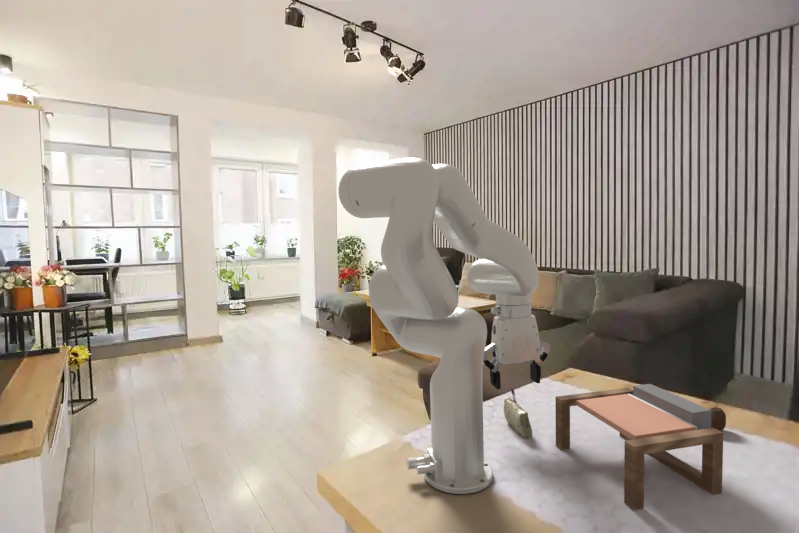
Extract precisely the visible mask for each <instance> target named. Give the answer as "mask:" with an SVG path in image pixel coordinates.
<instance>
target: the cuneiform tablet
mask: <svg viewBox="0 0 799 533" xmlns="http://www.w3.org/2000/svg"><path fill="white" fill-rule="evenodd" d="M510 391H511V397H512V398H510V397H507V398H506V399H504V402H503V413H504V419H505V420H506V421H507V423H508V424H509V425H510V426H511V427H512V428H513V427H514V428H513V429H514V430H515V431H516V432H517V431H518V432H517V433H518V434H520V436H522V437H523V438H524V439H530V438H532V437H533V430H532V425H531V422H530V419H529V413H528V411H526V410H525V409H524V408H522V406H520V405H519V403H517V399H516V398H517V397H516V394H515V389H514V388H512V387H510Z"/></svg>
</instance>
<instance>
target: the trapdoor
mask: <svg viewBox="0 0 799 533" xmlns="http://www.w3.org/2000/svg"><path fill="white" fill-rule="evenodd" d="M632 388H633V389H632V390H633V395H631V394H623V395H615V396H608V397H600V398H592V399H584V400H576V406H577V407H578V408H581V410H583V411H585V412H586V413H587V414H589V415H591V416H593V417H594V418H596V419H597V420H599V421H601V422H602V423H604V424H606V425H608V426H609V427H610V428H612V429H614V430H615V431H617V432H618V433H619V434H620V433H622V434H623V435H625V436H627V437H628V438H630V439H631V440H634V439H640V438H647V437H654V436H660V435H667V434H673V433H680V432H686V431H693V430H699V429H706V428H711V410H710V409H711V408H707V407H705V406H703V405H700V404H698V403H695V402H694V401H692V400H689V399H687V398H684V397H682V396H680V395H676V394H675V393H672V392H670V391H668V390H666V389H663V388H661V387H659V386H656V385H653V384H651V383H645V384H636V385H633V386H632Z"/></svg>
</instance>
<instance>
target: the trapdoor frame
mask: <svg viewBox="0 0 799 533" xmlns="http://www.w3.org/2000/svg"><path fill="white" fill-rule="evenodd" d="M623 394H631V395H633V389H632V388H629V387H622V388H616V389H615V388H614V389H607V390H599V391H591V392H582V393H574V394H566V395H559V396H558V395H557V396H555V447H556V448H558V449H559V450H560V451H567V450H571V407H575V406H577V405H576V400H584V399H592V398H600V397H608V396H615V395H623ZM621 437H622V438H621ZM619 438H621V439H623V440H624V455H623V456H624V457H623V458H624V459H623V460H624V464H623V466H624V470H623V471H624V472H623V473H624V474H623V475H624V476H623V478H624V479H623V482H624V485H623V490H624V491H623V494H624V495H623V503H624V504H625V505H626V506H627V507H628V508H629V509H631V510H632V511H637V510H642V509H644V508H645V455H648V456H650V457H652V458H653V459H655V461H658V462H659V463H661V464H662V465H664V466H665V467H667V468H668V469H670V470H671V471H673V472H675V473H677V474H678V475H679V476H681V477H683V478H684V479H686V480H688V482H691V483H692V482H693V483H692V484H694V485H695V486H696V487H698V488H700V489H702V490H704V491H705V492H706V491H707V493H708V492H709V493H710V494H709V493H708V494H709V495H711V494H712V495H711V496H714V495H713V494H715V495H719V494H720V493H721V494H723V470H724V469H723V463H724V459H723V458H724V431H722V432H721V431H719V430H717V429H715V428H713V427H712V428H706V429H699V430H693V431H686V432H680V433H673V434H667V435H660V436H654V437H647V438H640V439H634V440H631V439H630V438H628V437H627V436H625V435H623V434H622V433H620V432H619ZM697 446H701V447H702V448H701V449H702V450H701V451H702V452H701V453H702V454H701V471H700V470H698V469H697V468H695V467H694V466H691V465H690V464H688V463H686V462H685V461H683V460H682V459H680V458H679V457H677V456H675V455H673V454H671V453H670V452H668V451H672V450H679V449H684V448H690V447H697Z"/></svg>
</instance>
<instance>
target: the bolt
mask: <svg viewBox="0 0 799 533" xmlns="http://www.w3.org/2000/svg"><path fill="white" fill-rule="evenodd" d="M709 409H710V410H711V428H712V427H713V428H715V429H717V430H719V431H721V432H724V430H725V428H726V425H727V415H726V413H725V411H724V409H722V408H721V407H717V406H715V407H711V408H709Z"/></svg>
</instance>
